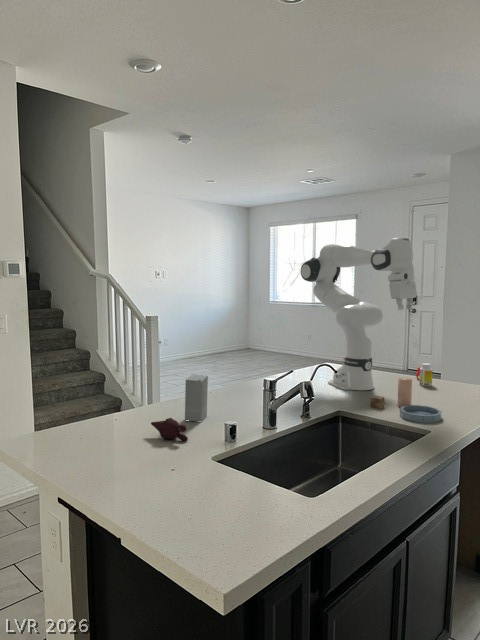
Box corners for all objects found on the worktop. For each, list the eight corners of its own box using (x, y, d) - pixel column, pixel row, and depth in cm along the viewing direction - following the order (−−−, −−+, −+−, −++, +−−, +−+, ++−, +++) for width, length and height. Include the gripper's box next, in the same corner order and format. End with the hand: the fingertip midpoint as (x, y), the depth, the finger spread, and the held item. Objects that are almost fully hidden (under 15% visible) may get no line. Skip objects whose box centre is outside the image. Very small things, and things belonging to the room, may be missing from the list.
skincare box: (191, 415, 178) (190, 373, 176) (209, 416, 176) (208, 374, 175) (183, 422, 170) (183, 378, 168) (202, 423, 168) (202, 379, 167)
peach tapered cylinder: (394, 405, 189) (395, 378, 188) (403, 403, 192) (404, 377, 191) (405, 408, 185) (406, 381, 184) (414, 406, 188) (414, 379, 187)
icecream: (141, 419, 152) (178, 431, 144) (157, 408, 158) (192, 419, 150) (144, 437, 154) (180, 450, 146) (159, 426, 160) (195, 437, 152)
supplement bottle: (434, 385, 224) (434, 364, 223) (428, 387, 220) (428, 365, 219) (423, 383, 228) (423, 362, 227) (417, 385, 225) (417, 363, 224)
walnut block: (370, 407, 187) (370, 397, 187) (374, 405, 190) (374, 395, 190) (380, 409, 185) (380, 399, 184) (384, 406, 188) (384, 397, 188)
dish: (392, 415, 176) (392, 408, 176) (417, 409, 183) (417, 403, 183) (424, 425, 164) (424, 418, 164) (449, 418, 171) (449, 411, 171)
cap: (411, 372, 239) (417, 367, 234) (419, 367, 242) (425, 363, 236) (421, 385, 237) (427, 381, 232) (428, 380, 239) (435, 376, 234)
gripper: (404, 277, 206) (406, 309, 206) (386, 276, 190) (388, 310, 190) (419, 275, 202) (421, 308, 202) (401, 275, 186) (403, 310, 186)
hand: (405, 309), depth 196 cm, fingers open, 8 cm apart
